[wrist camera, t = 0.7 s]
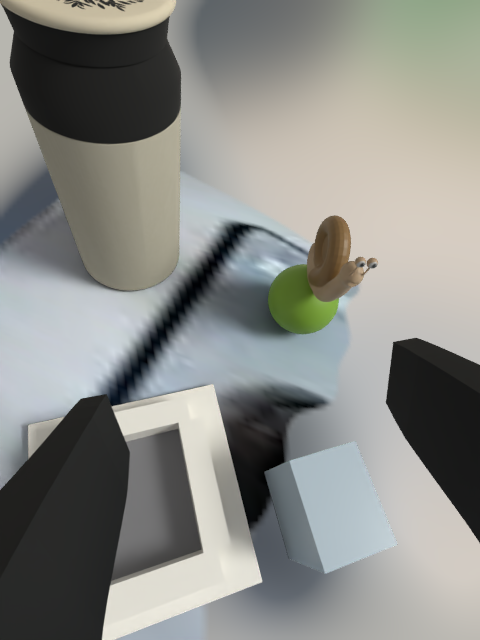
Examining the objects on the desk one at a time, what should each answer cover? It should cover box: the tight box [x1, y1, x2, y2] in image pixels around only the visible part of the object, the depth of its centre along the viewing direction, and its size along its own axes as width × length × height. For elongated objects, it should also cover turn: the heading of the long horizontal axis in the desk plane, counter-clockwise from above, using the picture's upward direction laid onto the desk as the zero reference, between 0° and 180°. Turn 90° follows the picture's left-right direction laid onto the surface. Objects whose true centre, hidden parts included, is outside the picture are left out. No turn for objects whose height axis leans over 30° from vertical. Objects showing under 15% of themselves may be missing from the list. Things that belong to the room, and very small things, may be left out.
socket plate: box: [28, 384, 262, 640], centre depth 20 cm, size 12×12×2 cm
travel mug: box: [0, 0, 181, 291], centre depth 22 cm, size 8×8×18 cm
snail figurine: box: [268, 216, 378, 334], centre depth 24 cm, size 5×6×12 cm
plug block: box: [264, 441, 397, 574], centre depth 20 cm, size 5×4×6 cm
